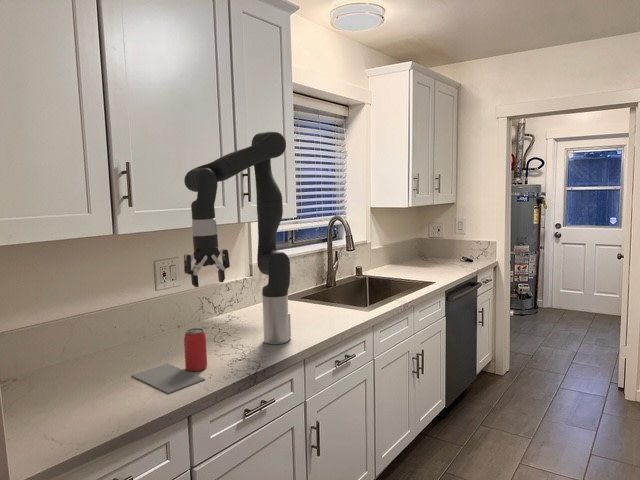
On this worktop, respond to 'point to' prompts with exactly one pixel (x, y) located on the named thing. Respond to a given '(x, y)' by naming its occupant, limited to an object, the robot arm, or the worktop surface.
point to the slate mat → (168, 378)
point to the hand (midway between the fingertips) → (208, 284)
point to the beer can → (195, 349)
